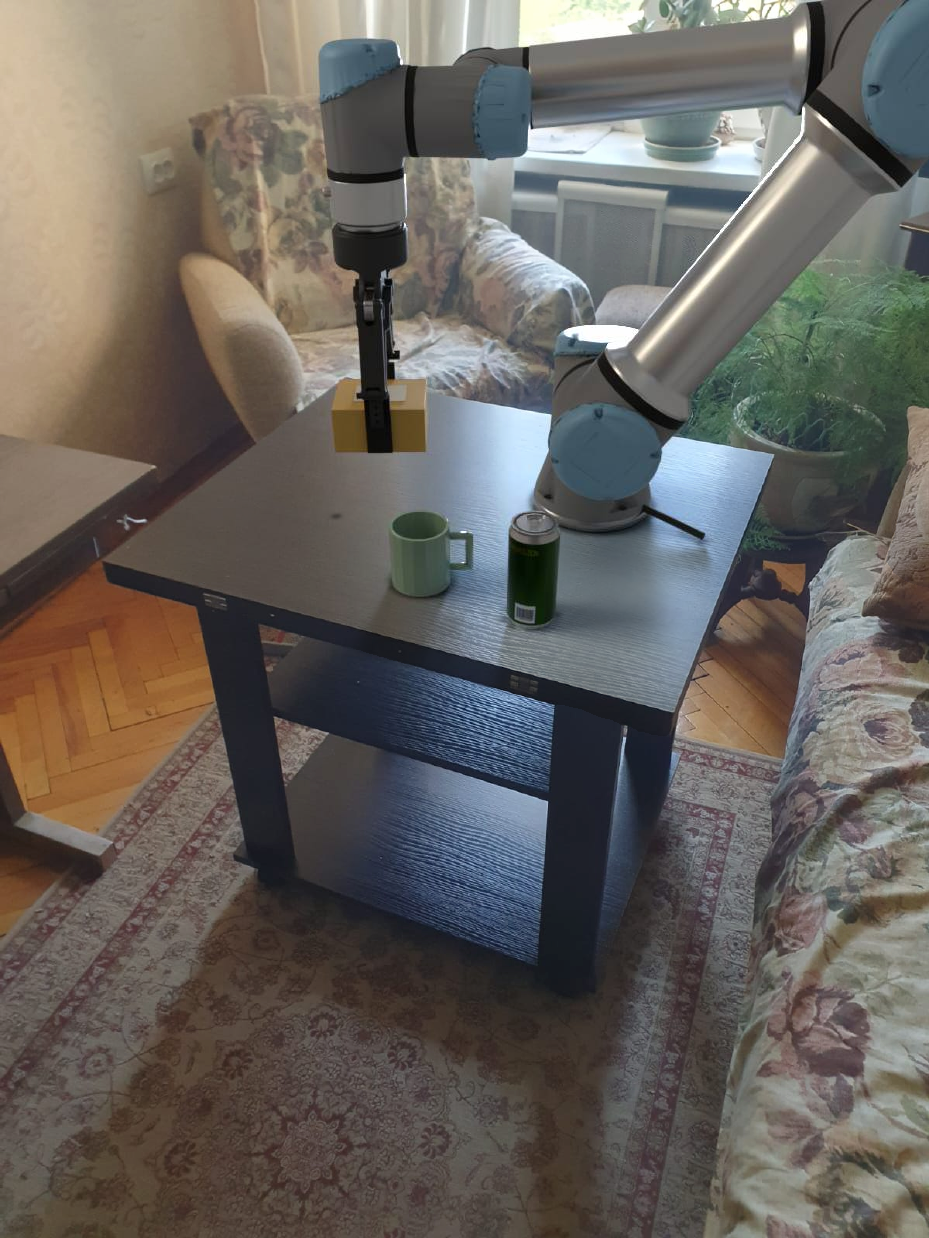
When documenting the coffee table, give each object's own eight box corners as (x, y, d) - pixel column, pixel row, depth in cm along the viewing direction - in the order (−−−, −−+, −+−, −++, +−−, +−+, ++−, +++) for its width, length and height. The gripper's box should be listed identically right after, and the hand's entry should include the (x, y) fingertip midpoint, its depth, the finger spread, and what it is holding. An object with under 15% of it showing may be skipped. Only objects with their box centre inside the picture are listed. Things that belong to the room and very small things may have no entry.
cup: (391, 598, 106) (387, 541, 102) (393, 565, 112) (389, 510, 107) (474, 596, 107) (474, 539, 102) (472, 563, 112) (472, 509, 108)
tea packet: (428, 419, 110) (426, 378, 107) (425, 452, 103) (424, 408, 100) (342, 420, 110) (339, 378, 107) (334, 452, 103) (330, 409, 100)
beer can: (552, 633, 101) (558, 538, 94) (503, 628, 101) (505, 533, 94) (557, 604, 105) (563, 511, 98) (509, 600, 106) (512, 507, 99)
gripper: (342, 198, 101) (358, 396, 115) (318, 252, 84) (340, 478, 97) (411, 197, 101) (419, 396, 115) (401, 251, 84) (412, 477, 97)
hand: (383, 433), depth 106 cm, fingers closed on tea packet, 8 cm apart
